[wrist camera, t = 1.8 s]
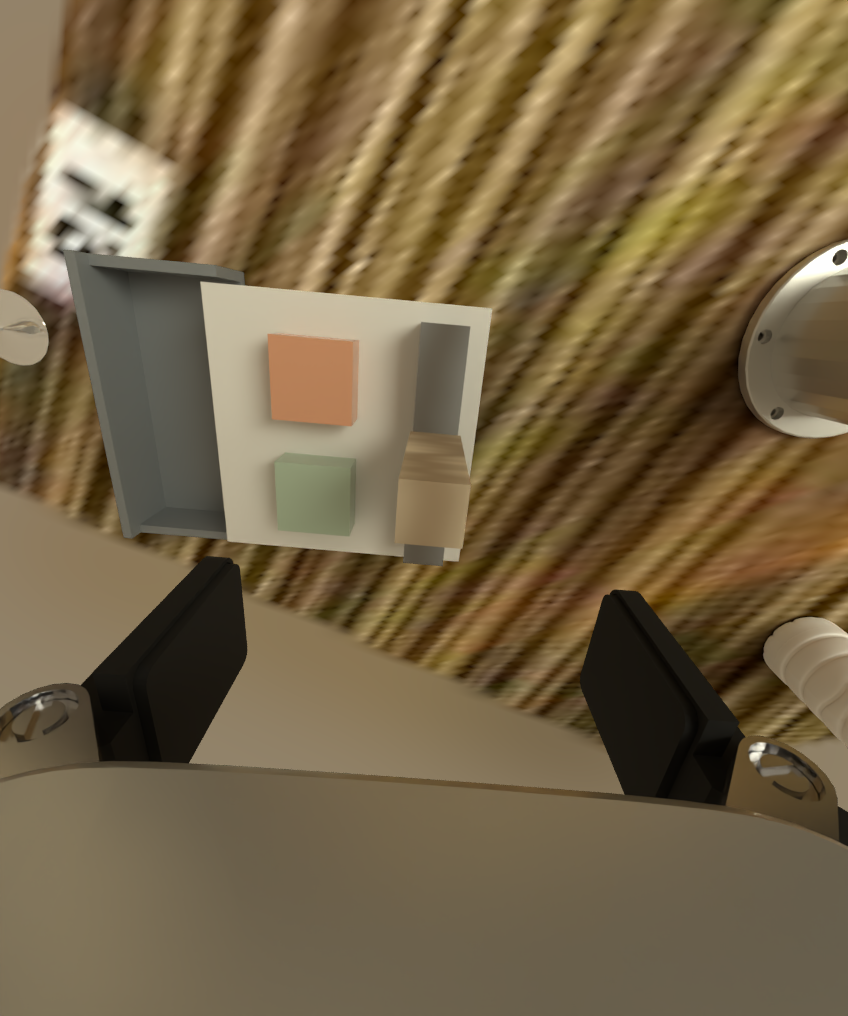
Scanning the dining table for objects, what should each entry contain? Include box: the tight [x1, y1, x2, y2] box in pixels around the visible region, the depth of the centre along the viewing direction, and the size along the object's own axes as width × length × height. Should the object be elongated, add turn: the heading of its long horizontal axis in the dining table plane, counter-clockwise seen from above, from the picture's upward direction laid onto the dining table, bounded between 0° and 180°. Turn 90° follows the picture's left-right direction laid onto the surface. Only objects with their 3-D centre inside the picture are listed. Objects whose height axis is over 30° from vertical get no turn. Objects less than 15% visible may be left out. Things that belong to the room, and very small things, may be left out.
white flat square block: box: [200, 282, 492, 562], centre depth 30 cm, size 16×16×6 cm
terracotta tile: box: [267, 333, 359, 426], centre depth 25 cm, size 4×4×2 cm
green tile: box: [274, 452, 356, 537], centre depth 27 cm, size 4×4×2 cm
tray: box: [63, 250, 245, 540], centre depth 30 cm, size 8×18×5 cm, turn 175°
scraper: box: [394, 322, 471, 566], centre depth 22 cm, size 3×14×10 cm, turn 175°
